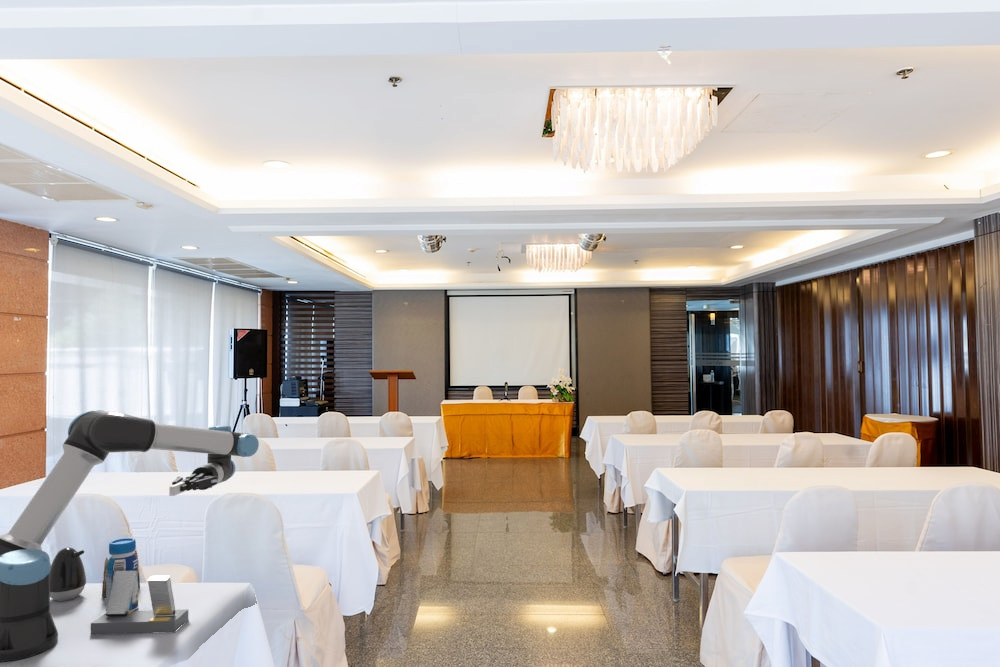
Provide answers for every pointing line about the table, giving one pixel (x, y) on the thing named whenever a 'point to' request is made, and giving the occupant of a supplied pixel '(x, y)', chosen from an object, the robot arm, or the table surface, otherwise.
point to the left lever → (121, 593)
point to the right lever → (161, 595)
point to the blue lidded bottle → (105, 579)
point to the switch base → (139, 623)
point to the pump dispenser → (67, 575)
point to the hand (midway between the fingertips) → (172, 491)
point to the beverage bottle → (122, 566)
